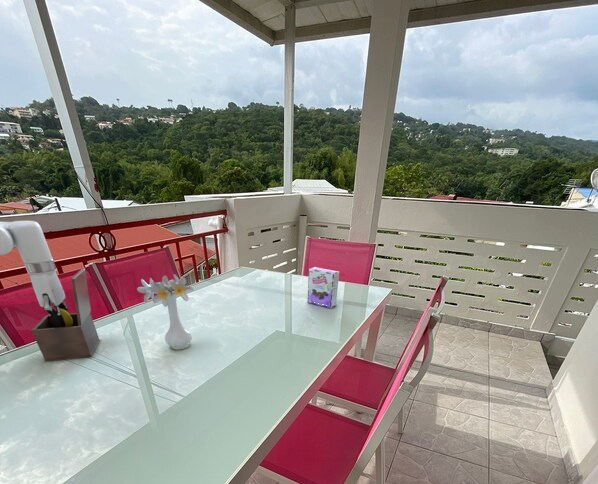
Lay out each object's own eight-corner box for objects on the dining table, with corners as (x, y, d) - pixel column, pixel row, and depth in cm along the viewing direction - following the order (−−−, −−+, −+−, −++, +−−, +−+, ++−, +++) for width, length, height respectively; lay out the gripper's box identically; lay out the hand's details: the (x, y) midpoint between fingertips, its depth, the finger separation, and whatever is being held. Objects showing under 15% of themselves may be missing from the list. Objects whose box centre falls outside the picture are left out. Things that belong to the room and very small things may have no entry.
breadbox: (45, 361, 109) (31, 330, 103) (57, 344, 120) (45, 315, 114) (91, 357, 113) (80, 326, 106) (99, 340, 123) (90, 312, 117)
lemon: (62, 327, 114) (52, 305, 110) (78, 327, 115) (70, 305, 110) (54, 334, 110) (44, 311, 105) (71, 334, 110) (62, 310, 106)
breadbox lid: (70, 278, 98) (74, 279, 99) (82, 267, 109) (85, 268, 110) (78, 325, 106) (81, 325, 106) (88, 310, 117) (91, 311, 117)
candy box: (306, 302, 165) (308, 268, 156) (313, 299, 169) (314, 266, 160) (330, 308, 159) (333, 273, 150) (336, 305, 163) (339, 270, 154)
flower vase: (161, 337, 127) (145, 270, 113) (208, 340, 126) (198, 272, 112) (145, 353, 116) (125, 280, 102) (196, 356, 115) (184, 282, 101)
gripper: (36, 261, 106) (58, 315, 117) (15, 274, 93) (42, 334, 103) (62, 260, 108) (82, 313, 118) (45, 273, 95) (69, 332, 105)
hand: (63, 322), depth 111 cm, fingers closed on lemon, 5 cm apart
